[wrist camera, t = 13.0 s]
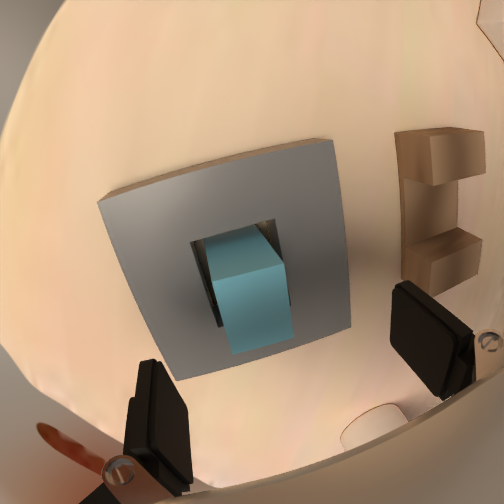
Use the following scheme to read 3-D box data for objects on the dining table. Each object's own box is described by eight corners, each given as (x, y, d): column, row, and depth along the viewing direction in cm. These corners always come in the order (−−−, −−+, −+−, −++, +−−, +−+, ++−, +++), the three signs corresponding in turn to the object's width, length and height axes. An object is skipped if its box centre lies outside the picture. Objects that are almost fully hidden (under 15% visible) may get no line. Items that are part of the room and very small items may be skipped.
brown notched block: (450, 127, 18) (483, 131, 15) (450, 257, 23) (477, 273, 20) (394, 132, 18) (429, 136, 14) (401, 278, 22) (428, 299, 19)
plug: (253, 222, 18) (283, 263, 12) (263, 281, 20) (293, 337, 14) (202, 234, 18) (211, 281, 12) (217, 293, 19) (232, 354, 14)
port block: (313, 138, 17) (332, 140, 14) (335, 308, 22) (351, 326, 19) (108, 192, 15) (97, 202, 13) (175, 356, 20) (176, 381, 18)
